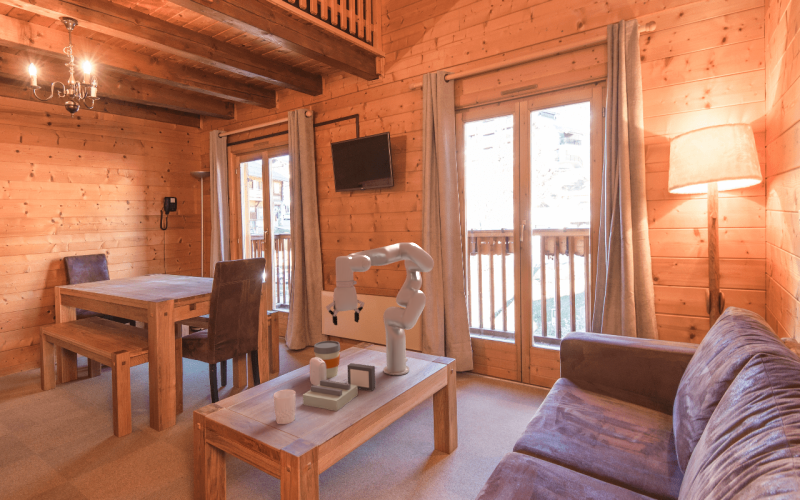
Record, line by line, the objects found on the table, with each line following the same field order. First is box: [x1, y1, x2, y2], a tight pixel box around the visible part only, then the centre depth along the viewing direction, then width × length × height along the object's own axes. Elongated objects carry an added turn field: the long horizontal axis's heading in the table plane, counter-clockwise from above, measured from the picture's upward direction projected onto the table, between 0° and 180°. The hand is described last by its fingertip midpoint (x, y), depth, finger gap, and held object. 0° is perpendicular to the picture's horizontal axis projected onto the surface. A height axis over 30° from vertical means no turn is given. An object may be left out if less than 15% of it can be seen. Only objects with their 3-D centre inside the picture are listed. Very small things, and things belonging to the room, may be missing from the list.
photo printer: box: [309, 356, 328, 386], centre depth 180 cm, size 10×4×12 cm, turn 39°
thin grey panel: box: [347, 362, 376, 392], centre depth 175 cm, size 3×12×10 cm, turn 66°
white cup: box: [273, 389, 297, 425], centre depth 147 cm, size 8×8×10 cm
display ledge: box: [302, 379, 359, 412], centre depth 164 cm, size 16×16×6 cm
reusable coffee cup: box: [313, 340, 341, 379], centre depth 192 cm, size 13×12×15 cm
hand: (346, 323), depth 175 cm, fingers open, 9 cm apart
